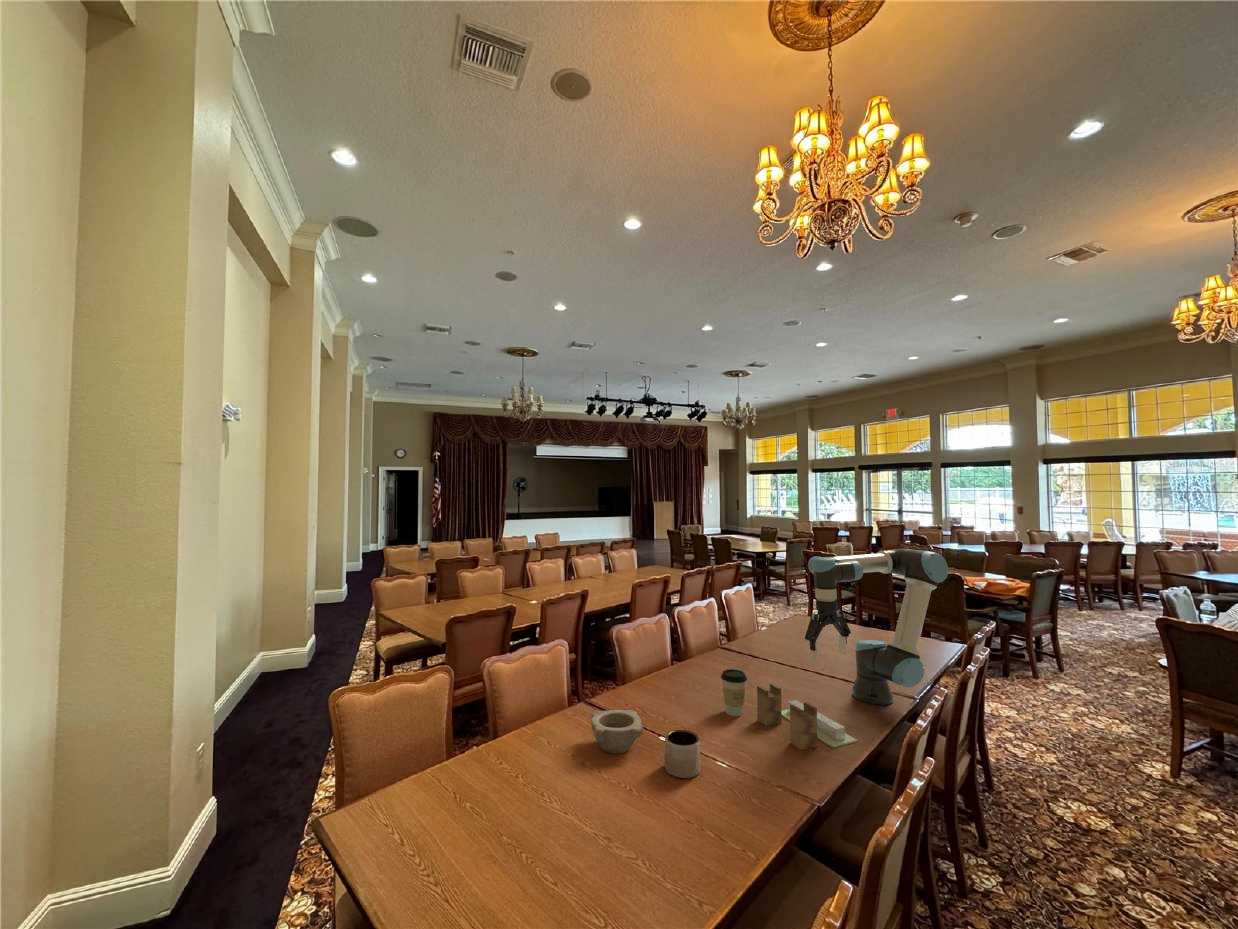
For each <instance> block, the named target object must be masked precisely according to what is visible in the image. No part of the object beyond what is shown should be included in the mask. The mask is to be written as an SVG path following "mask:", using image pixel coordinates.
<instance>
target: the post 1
mask: <svg viewBox="0 0 1238 929" xmlns="http://www.w3.org/2000/svg"><path fill="white" fill-rule="evenodd" d="M756 699H757V703H756V705H757V706H756V707H757V708H756V709H757V711H756V712H757V721H758V722H759V723H761V724H762V725H764V726H766V727H768V726H769V727H770V726H773V725H779V724H782V723H783V721H782V718H783V716H782V713H781V711H782V688H781V687H779V686H778V685H776V684H774V683H769V690H768V689H766V688H765V687H763V686H761V685H757V686H756Z"/></svg>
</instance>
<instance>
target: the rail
mask: <svg viewBox="0 0 1238 929" xmlns="http://www.w3.org/2000/svg"><path fill="white" fill-rule="evenodd" d="M790 705H795V706H796V707H798V708H800V709H801V710H804V703H803V702H800V701H799V700H797V699H794V700H789V701H787V709H788V712H789V713H790ZM817 730H818V731H820V732H822V733H823V734H825V735H827V736H828V737H830V738H832V739H833V740H835V741H839V740H843V739H845V733H846V727H845V726H844V725H842V724H840V723H839V722H836V721H834V720H833V719H831V718H829V717H827V715H826V716H825V715H824V714H822V713H820V712H818V711H817Z"/></svg>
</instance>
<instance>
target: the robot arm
mask: <svg viewBox="0 0 1238 929" xmlns="http://www.w3.org/2000/svg"><path fill="white" fill-rule="evenodd" d="M807 564H808V565H807V568H808V570H809V572H810V573H811V574H812V575H813V576H814V577H813V578H814V594H815V598H816V599H815V609H816V610H817V613H813V612H812V613H810V618H809V623H808V626H807V629H806V633H805V636H804V640H806V641H809V649H810V652H811V659H813V660H815V661H819V658H820V657H819V644H818V643H819V642H818V641H817V640H818V638H819V636H820V634H821V632H822V631H823V629H824V628H825V627H826V626H828V625H832V626H833V627H834V628H835V630H836V631H837V633H839V635H838V636H837V637H838V649H839V650H838V651H839V654H841V655H844V656H845V655H847V644H848V641H847V640H848V639H847V638H849V636H850V635H851V633H852V632H851V629H850V627H849V624H848V622H847V621H846V619H845V617H844V611H843V610H841V609H838V601H837V599H838V596H837V594H838V593H837V583H842V582H843V583H844V582H854V581H857V580H861V578H863V575H864V574H865V573H881V574H894V575H899V576H903V579H904V580H905V582H906V587H905V590H904V594H903V595H904V596H903V600H902V603H901V606H900V607H901V608H900V612H899V615H898V619H897V623H896V628H895V630H894V631H895V632H894V634H893V635H894V636H893V638H892V639H893V640H892V641H890V642H888V643H886V641H882V640H875V639H866V640H865V639H864V640H859V641H857V642H856V643H855V645H856V646H855V666H856V668H855V669H856V671H855V672H856V677H855V680H854V682H853V686H852V689H851V690H852V696H853V697H854V698H855V699H856V700H858V701H861V702H863V703H864V702H865V703H868V704H870V705H871V704H872V705H879V706H881V705H882V706H887V705H890V704H892V703H893V702H894V695H893V693H892V691H891V687H890V685H889V682H893V683H894V684H895V685H898V686H902V687H905V688H909V689H910V688H914V687H916V686H918V685H919V684H920V683H921V682H922V680H923V679H924V675H925V665H924V664H923V662H922V661H921V660H920V659H921V653H920V652H919V651H918V647H919V644H920V640H921V637H922V635H921V634H922V631H923V627H924V624H925V623H924V621H925V620H926V616H927V610H928V607H929V602H930V598H931V595H932V594H931V593H932V591H934V590H935V589H937V588H938V585H939V583H943V582H944V581H945V580H946V579H947V578H948V575H949V566H948V563H947V562H946V559H945V558H944V556H942V554H940V553H938V552H933V551H929V550H919V549H910V548H894V549H887V550H880V551H877V552H876V553H868V554H867V553H866V554H855V555H854V554H852V555H840V556H839V555H837V556H827V557H826V556H824V557H823V556H820V555H819V556H812V557H810V559H809V560H808V563H807Z"/></svg>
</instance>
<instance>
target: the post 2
mask: <svg viewBox="0 0 1238 929" xmlns="http://www.w3.org/2000/svg"><path fill="white" fill-rule="evenodd" d="M803 704H804V710H801V709H800V708H798V707H796V706H795V705H790V721H789V723H790V724H789V725H790V726H789V727H790V729H789V730H790V743H791V745H792V746H794V747H796V748H797V749H799V750H800V751H803V750H806V749H811V748H816V747H818V741H819V739H818V738H817V712H818V708H817V707H816V706H815V705H813V704H810V703H809V702H807V701H806V702H803Z"/></svg>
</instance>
